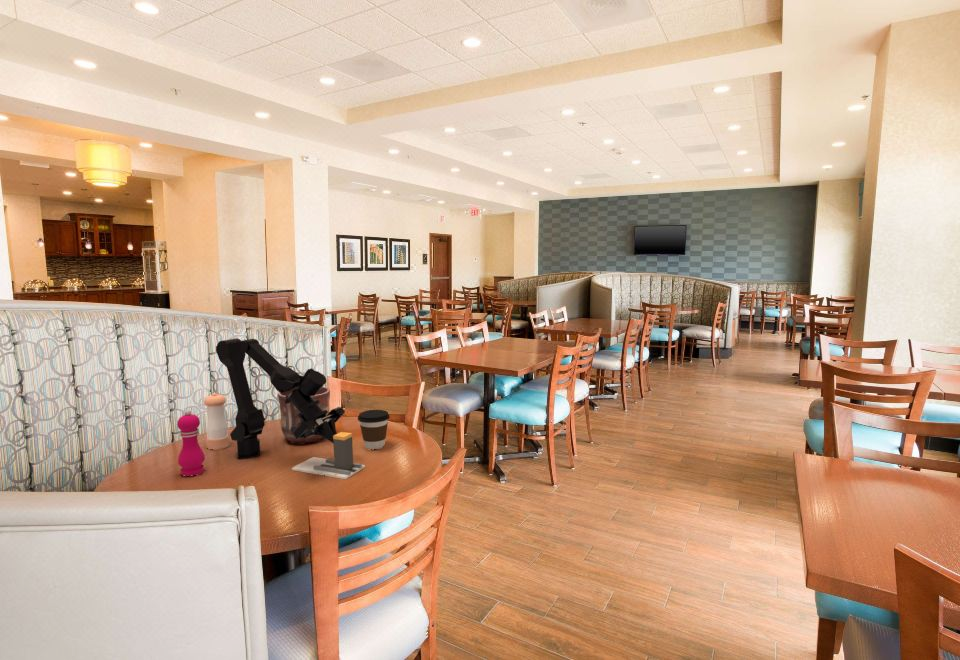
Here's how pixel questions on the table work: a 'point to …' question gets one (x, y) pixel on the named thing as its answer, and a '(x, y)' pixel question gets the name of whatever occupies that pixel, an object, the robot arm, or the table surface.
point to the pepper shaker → (216, 422)
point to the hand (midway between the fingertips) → (336, 443)
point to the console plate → (326, 468)
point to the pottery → (291, 414)
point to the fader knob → (343, 451)
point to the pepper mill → (190, 445)
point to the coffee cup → (374, 428)
